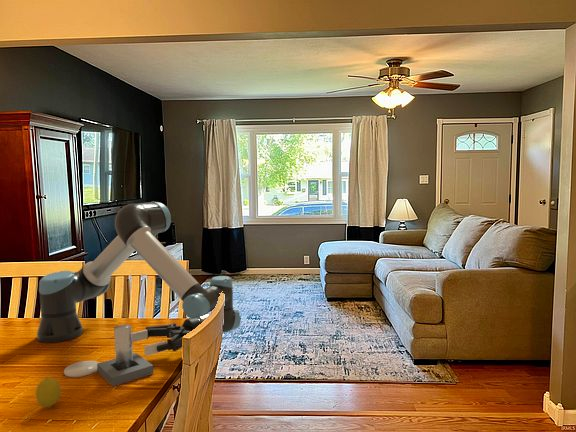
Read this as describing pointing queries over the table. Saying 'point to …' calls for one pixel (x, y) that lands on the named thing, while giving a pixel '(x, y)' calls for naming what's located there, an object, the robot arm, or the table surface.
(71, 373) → the coaster
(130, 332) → the metal part
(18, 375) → the table surface
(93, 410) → the table surface
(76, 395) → the table surface
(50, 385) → the lemon
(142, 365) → the pocket board
